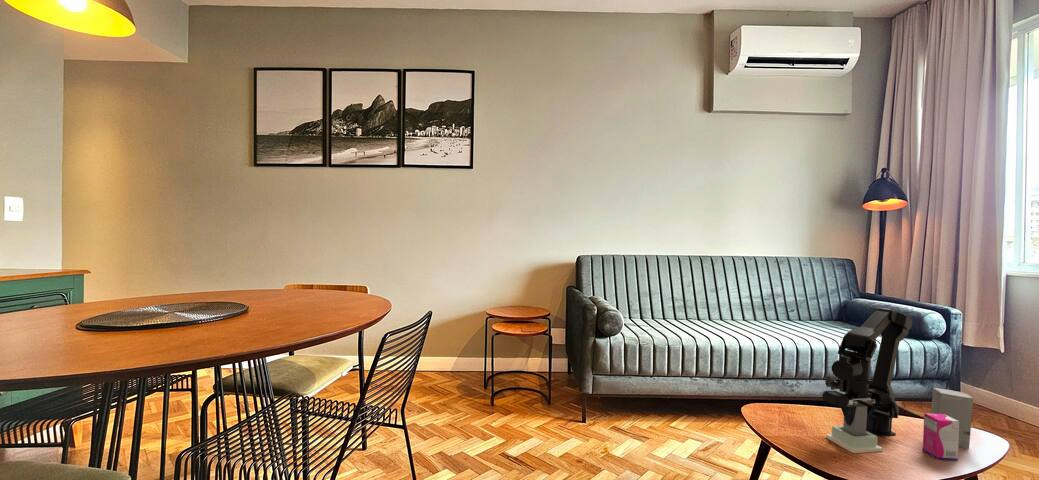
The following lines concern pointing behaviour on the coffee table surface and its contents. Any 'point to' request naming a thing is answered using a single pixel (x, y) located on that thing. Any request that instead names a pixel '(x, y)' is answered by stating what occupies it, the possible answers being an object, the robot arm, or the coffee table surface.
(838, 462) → the coffee table surface
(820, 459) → the coffee table surface
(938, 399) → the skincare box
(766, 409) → the coffee table surface
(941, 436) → the supplement box
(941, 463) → the coffee table surface
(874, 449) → the socket block
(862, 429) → the peg
